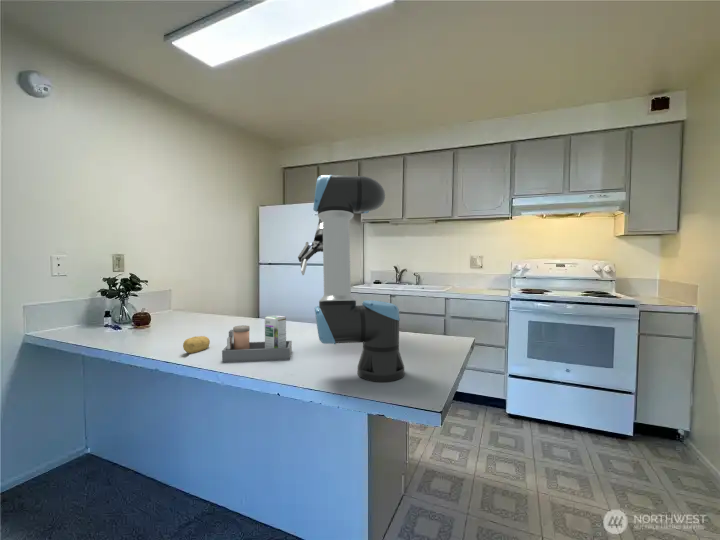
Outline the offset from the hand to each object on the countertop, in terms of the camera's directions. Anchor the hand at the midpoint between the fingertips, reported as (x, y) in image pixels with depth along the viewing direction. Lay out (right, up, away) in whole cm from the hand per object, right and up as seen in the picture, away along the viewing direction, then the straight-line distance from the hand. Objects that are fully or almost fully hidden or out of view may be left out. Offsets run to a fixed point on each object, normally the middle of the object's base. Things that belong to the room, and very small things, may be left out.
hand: (314, 273), depth 136 cm
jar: (-25, -31, -12) cm, 41 cm away
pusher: (-29, -30, -12) cm, 43 cm away
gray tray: (-19, -32, -11) cm, 38 cm away
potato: (-46, -31, -3) cm, 56 cm away
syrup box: (-13, -31, -10) cm, 35 cm away
